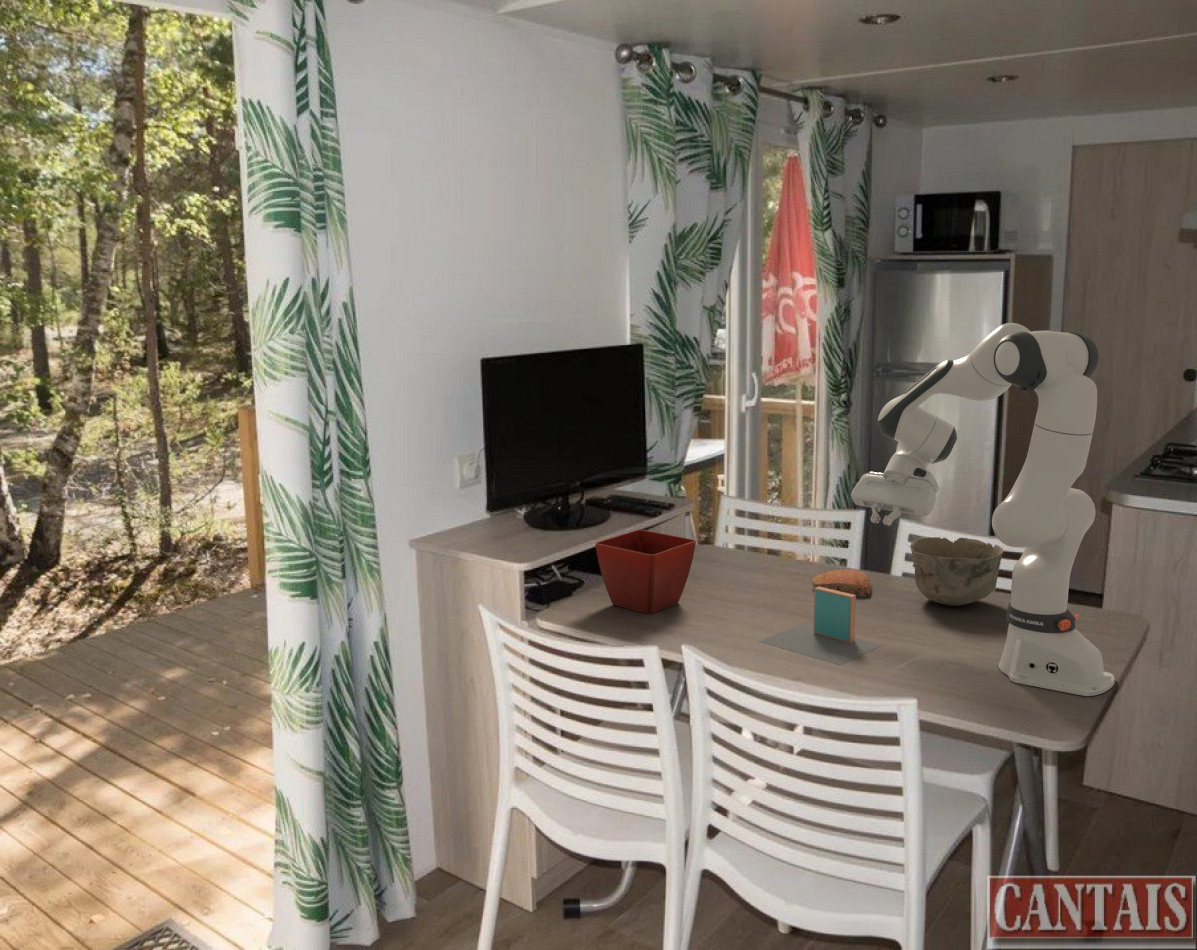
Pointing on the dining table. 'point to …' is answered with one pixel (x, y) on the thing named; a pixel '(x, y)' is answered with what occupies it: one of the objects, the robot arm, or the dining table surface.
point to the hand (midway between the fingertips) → (879, 522)
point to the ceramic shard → (844, 582)
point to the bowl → (955, 569)
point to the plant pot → (645, 569)
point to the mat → (819, 645)
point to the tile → (834, 614)
